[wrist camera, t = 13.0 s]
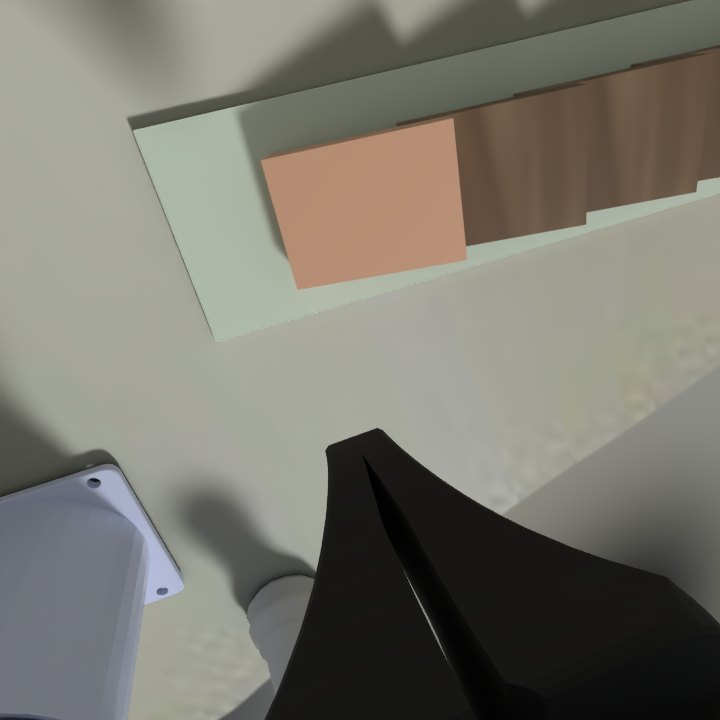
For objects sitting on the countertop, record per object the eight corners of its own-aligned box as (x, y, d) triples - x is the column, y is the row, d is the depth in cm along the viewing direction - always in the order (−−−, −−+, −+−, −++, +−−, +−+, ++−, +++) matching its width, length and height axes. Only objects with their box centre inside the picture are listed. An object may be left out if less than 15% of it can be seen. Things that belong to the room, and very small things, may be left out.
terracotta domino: (297, 290, 17) (467, 259, 16) (260, 160, 15) (453, 118, 14) (303, 276, 19) (461, 247, 18) (270, 154, 16) (448, 115, 16)
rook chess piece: (249, 636, 27) (261, 816, 20) (242, 579, 25) (252, 757, 18) (329, 618, 28) (366, 782, 21) (327, 562, 26) (368, 723, 19)
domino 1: (416, 255, 18) (586, 224, 17) (397, 125, 16) (589, 83, 15) (414, 244, 19) (572, 215, 18) (396, 122, 17) (574, 83, 16)
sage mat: (216, 339, 19) (216, 342, 19) (133, 130, 15) (132, 130, 15) (732, 186, 22) (738, 187, 22) (765, -17, 19) (774, -20, 18)
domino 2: (527, 223, 19) (696, 192, 18) (523, 94, 16) (714, 52, 16) (518, 214, 20) (676, 184, 19) (513, 94, 18) (690, 54, 17)
